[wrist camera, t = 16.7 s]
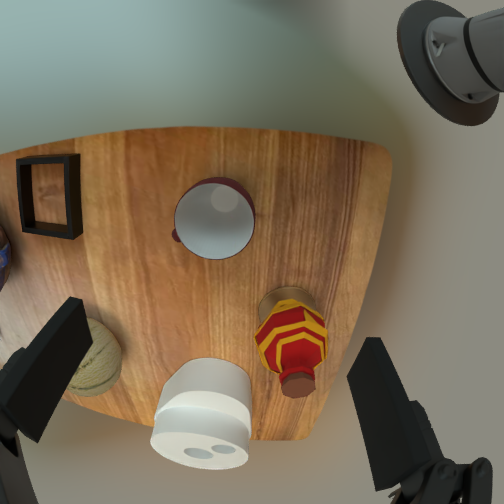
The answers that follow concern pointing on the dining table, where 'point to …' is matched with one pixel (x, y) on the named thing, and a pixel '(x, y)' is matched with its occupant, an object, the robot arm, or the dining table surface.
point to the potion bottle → (293, 345)
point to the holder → (71, 196)
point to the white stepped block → (205, 415)
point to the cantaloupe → (98, 363)
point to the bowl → (4, 258)
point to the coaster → (284, 294)
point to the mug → (215, 218)
